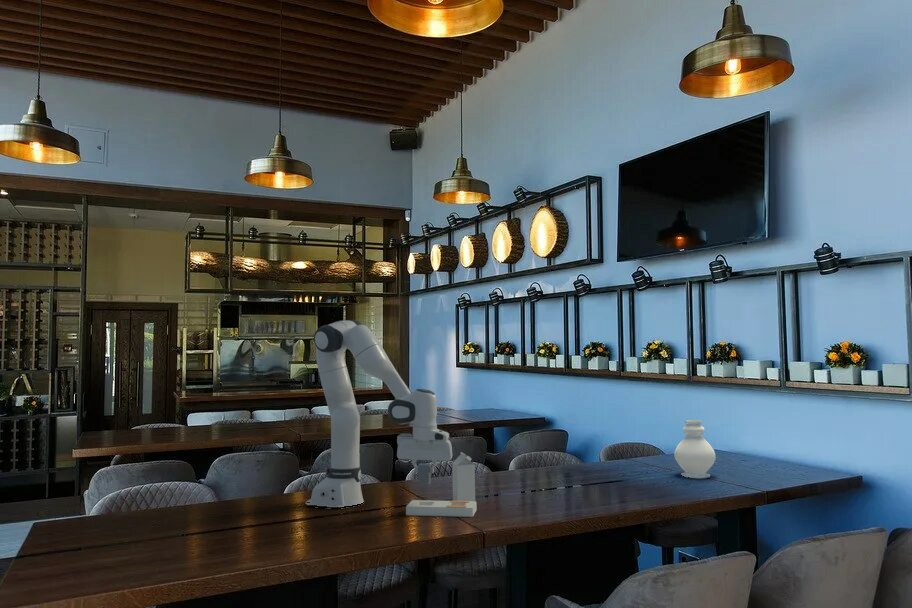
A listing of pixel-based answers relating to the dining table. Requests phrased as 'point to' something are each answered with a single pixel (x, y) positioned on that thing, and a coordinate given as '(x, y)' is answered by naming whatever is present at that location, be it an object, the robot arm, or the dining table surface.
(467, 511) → the socket rail
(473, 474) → the milk carton
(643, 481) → the dining table surface
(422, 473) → the dark gray block
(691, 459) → the decorative vase
